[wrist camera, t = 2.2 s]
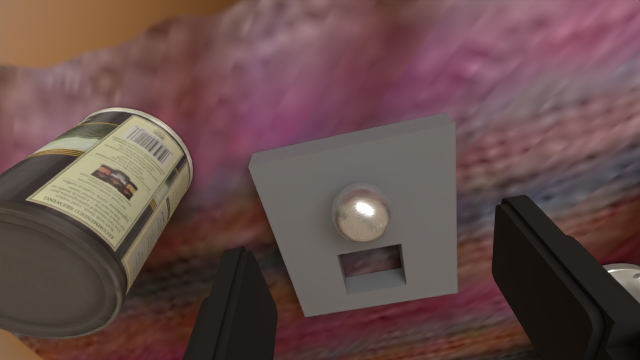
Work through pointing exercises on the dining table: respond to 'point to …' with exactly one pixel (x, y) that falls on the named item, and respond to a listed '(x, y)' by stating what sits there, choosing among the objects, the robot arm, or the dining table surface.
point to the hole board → (406, 198)
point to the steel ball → (362, 213)
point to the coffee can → (85, 221)
